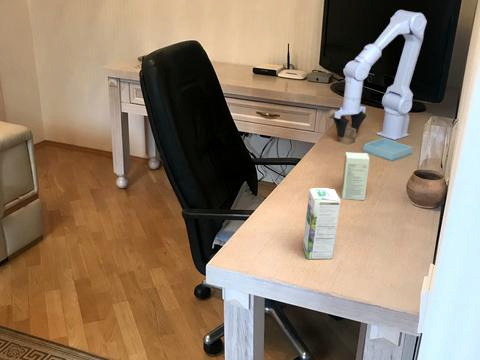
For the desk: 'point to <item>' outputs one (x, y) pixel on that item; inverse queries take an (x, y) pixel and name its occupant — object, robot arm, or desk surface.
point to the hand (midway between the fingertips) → (347, 134)
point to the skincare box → (355, 176)
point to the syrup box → (321, 223)
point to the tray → (388, 149)
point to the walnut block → (348, 136)
